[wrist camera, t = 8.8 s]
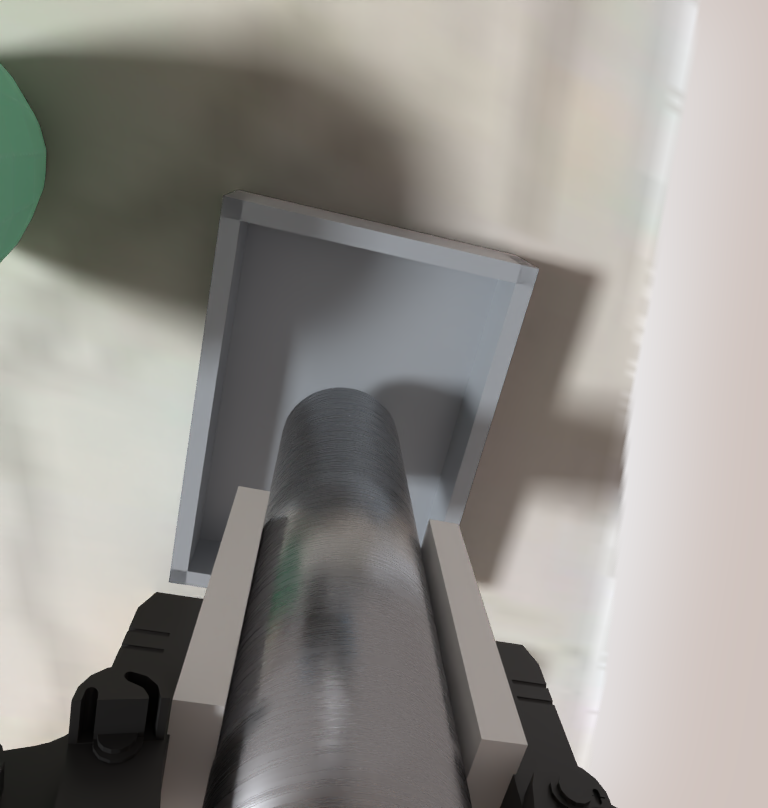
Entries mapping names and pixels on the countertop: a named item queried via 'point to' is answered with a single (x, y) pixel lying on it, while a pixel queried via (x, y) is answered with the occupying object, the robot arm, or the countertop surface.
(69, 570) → the countertop surface
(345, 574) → the pin
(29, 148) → the mug
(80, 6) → the countertop surface
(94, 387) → the countertop surface
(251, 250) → the tray
